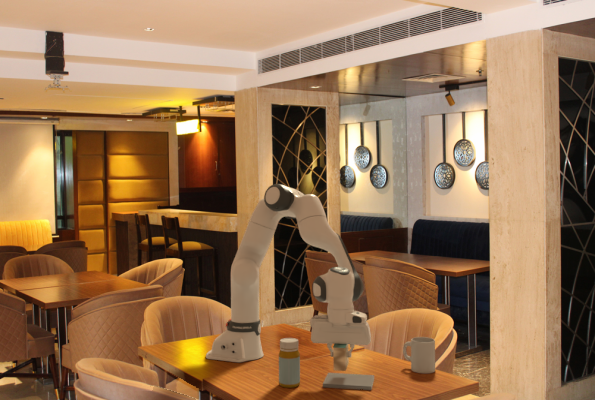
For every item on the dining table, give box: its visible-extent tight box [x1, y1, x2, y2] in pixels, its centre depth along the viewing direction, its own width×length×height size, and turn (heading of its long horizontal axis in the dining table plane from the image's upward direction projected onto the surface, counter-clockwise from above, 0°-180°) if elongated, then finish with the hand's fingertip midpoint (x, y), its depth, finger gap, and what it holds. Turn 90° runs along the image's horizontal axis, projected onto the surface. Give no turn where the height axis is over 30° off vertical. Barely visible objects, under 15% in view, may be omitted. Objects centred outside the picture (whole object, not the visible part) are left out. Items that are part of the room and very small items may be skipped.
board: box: [322, 372, 375, 391], centre depth 194 cm, size 16×12×1 cm
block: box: [332, 344, 350, 372], centre depth 195 cm, size 4×9×8 cm, turn 169°
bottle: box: [278, 337, 301, 389], centre depth 192 cm, size 7×7×15 cm
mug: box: [402, 336, 436, 374], centre depth 208 cm, size 12×8×11 cm
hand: (341, 356), depth 195 cm, fingers closed on block, 4 cm apart
